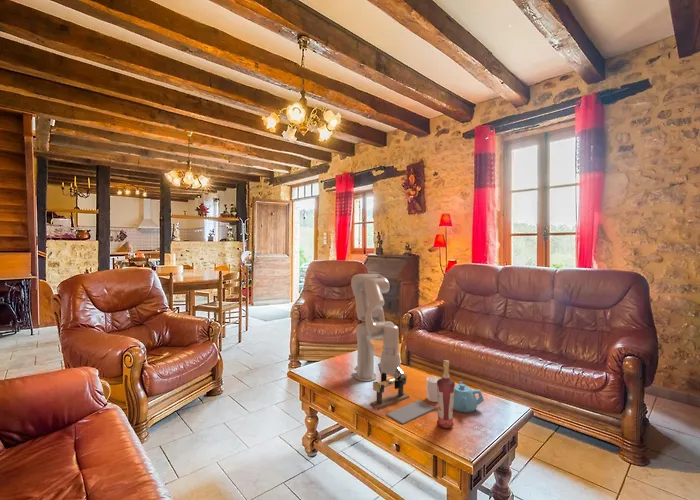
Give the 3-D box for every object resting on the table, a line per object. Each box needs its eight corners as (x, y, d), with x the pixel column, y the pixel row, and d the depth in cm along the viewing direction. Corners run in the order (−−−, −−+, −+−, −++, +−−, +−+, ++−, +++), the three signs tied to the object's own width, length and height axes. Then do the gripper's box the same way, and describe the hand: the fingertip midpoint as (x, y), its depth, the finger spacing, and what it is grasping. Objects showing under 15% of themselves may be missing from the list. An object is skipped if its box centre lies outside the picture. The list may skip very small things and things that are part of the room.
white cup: (442, 403, 169) (443, 383, 169) (426, 401, 171) (426, 381, 170) (441, 396, 177) (442, 377, 176) (425, 395, 178) (426, 375, 178)
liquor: (455, 431, 144) (456, 364, 143) (437, 429, 145) (438, 363, 145) (453, 422, 151) (453, 358, 151) (435, 420, 152) (436, 357, 152)
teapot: (463, 418, 155) (464, 394, 155) (438, 404, 168) (439, 382, 168) (485, 409, 163) (485, 387, 163) (460, 397, 176) (460, 376, 176)
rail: (378, 392, 163) (378, 384, 163) (373, 389, 166) (373, 382, 166) (406, 382, 176) (406, 374, 176) (401, 379, 179) (401, 372, 178)
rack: (370, 404, 167) (370, 383, 167) (400, 393, 180) (400, 373, 180) (378, 409, 162) (379, 387, 162) (409, 397, 175) (409, 376, 175)
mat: (386, 415, 157) (386, 413, 157) (419, 401, 171) (419, 399, 171) (402, 424, 149) (402, 423, 149) (436, 408, 163) (436, 407, 163)
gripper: (373, 347, 175) (372, 381, 175) (398, 356, 161) (397, 393, 162) (383, 344, 180) (383, 377, 180) (409, 353, 166) (408, 389, 166)
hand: (390, 385), depth 171 cm, fingers open, 8 cm apart
